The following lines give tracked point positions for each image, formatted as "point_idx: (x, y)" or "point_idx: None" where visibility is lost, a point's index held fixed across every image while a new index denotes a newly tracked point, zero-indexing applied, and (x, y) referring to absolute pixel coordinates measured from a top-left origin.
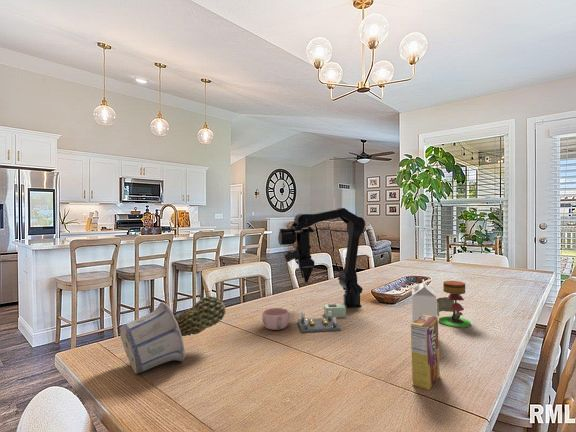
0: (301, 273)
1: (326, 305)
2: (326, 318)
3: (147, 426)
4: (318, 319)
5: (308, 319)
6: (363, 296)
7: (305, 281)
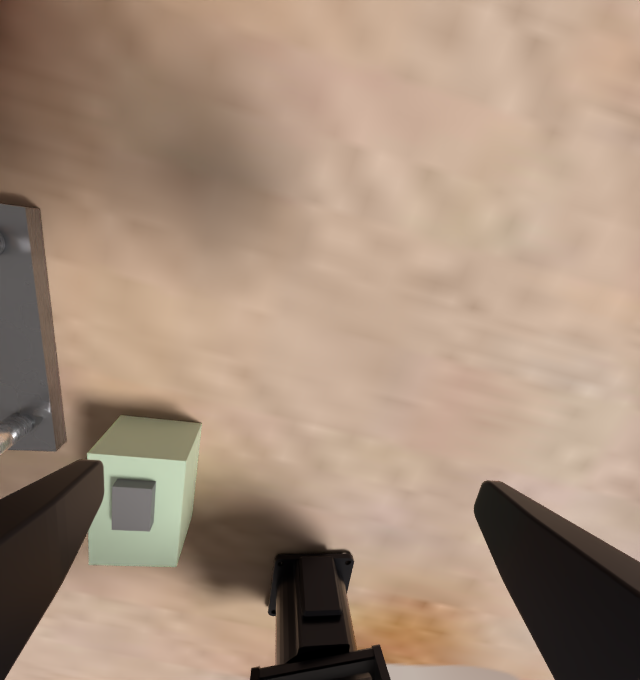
0: (549, 535)
1: (159, 470)
2: (36, 409)
3: None
4: (15, 355)
5: (17, 288)
6: (431, 645)
7: (61, 478)
